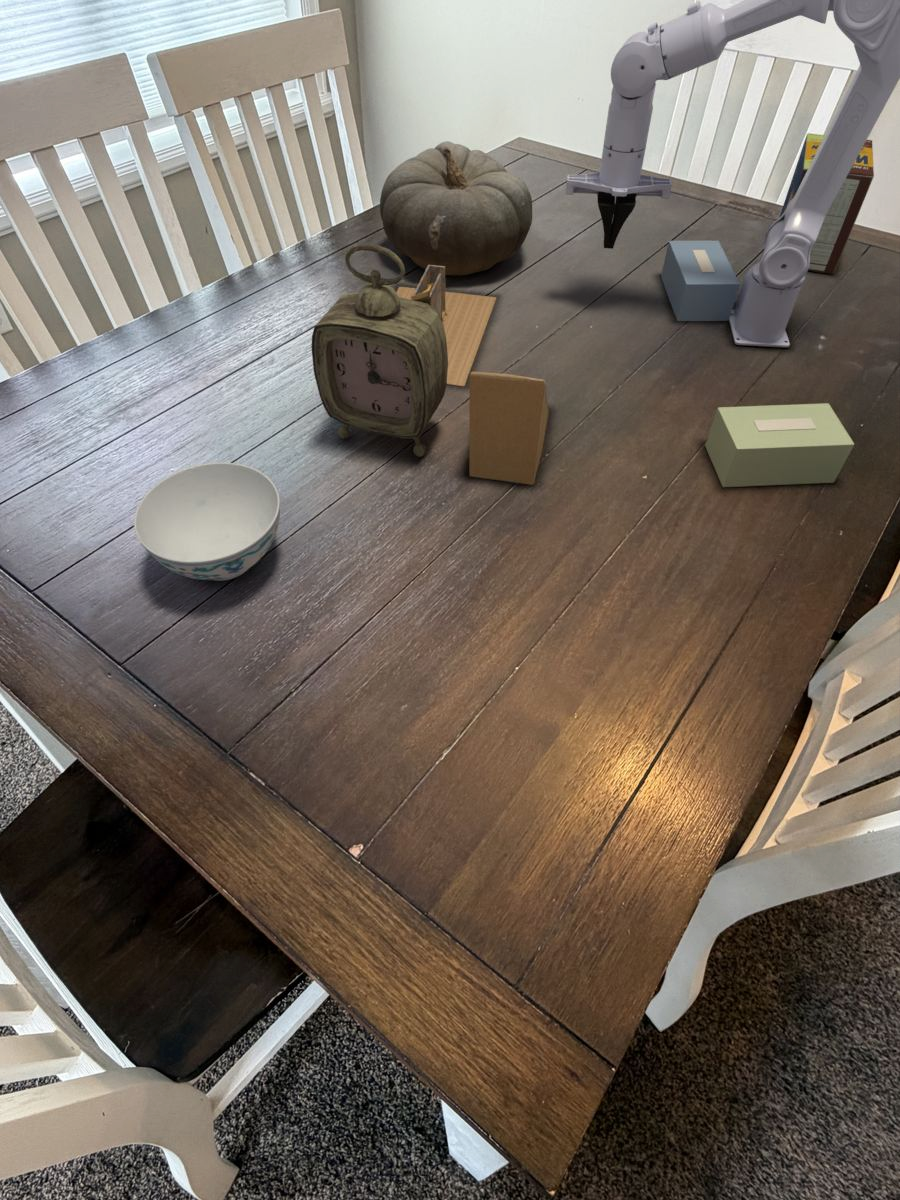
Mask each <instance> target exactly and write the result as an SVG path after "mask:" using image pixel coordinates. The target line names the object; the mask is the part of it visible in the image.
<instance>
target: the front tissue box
mask: <svg viewBox="0 0 900 1200" xmlns="http://www.w3.org/2000/svg"><path fill="white" fill-rule="evenodd" d="M854 446H855V443H854V440H853V439H852V437H851V436H850V435H849V433H848V431H847V430H846V428H845V427H844V425H843V424H842V422H841V420H840V418H839V417H838V416H837V414H836V413H835V411H834V409H833V408H832V406H831V405H830V403H829V402H825V403H823V402H822V403H802V404H801V403H797V404H772V405H771V404H770V405H747V406H745V405H744V406H720V407H717V408H716V412H715V415H714V417H713V421H712V424H711V427H710V430H709V433H708V435H707V439H706V441H705V444H704V447H705V449H706V451H707V455H708V456H709V459H710V461H711V463H712V466H713V468H714V470H715V472H716V475H717V478H718V480H719V482H720V484H721V487H722V488H736V487H758V486H759V487H760V486H761V487H762V486H763V487H765V486H785V485H786V486H787V485H788V486H789V485H809V484H811V485H812V484H832V483H835V482H836V480H837V478H838V476H839V474H840V472H841V471H842V470H843V467H844V465H845V463H846V461H847V459H848V457H849V456H850V454H851V452H852V450H853V448H854Z"/></svg>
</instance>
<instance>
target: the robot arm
mask: <svg viewBox="0 0 900 1200" xmlns="http://www.w3.org/2000/svg"><path fill="white" fill-rule="evenodd" d="M686 11H687V12H686V13H684V14H682V15H680V16H678V17H676V18H673V19H670V20H669V21H666V22H664V23H662V24H660V25H658V22H657V21H656V22H654V23H652V24H649V26H648V27H647V31H639V32H636V33H634V34H632V35H631V36H629V37H628V38H627V39H626V41H625V42H624V43H623V44H622V46H621V48H619V50H618V52H617V53H616V55H615V56H614V58H613V60H612V64H611V68H610V79H611V80H610V81H611V84H612V89H611V93H610V94H611V96H610V97H611V98H610V103H609V105H608V111H607V118H606V124H605V131H604V137H603V138H604V139H603V146H602V153H601V159H600V167H599V172H590V173H581V174H567V176H566V183H565V195H567V196H572V195H574V194H592V195H596V196H597V207H598V210H599V213H600V217H601V222H602V227H603V249H611V250H613V249H614V247H615V244H616V241H617V238H618V236H619V234H620V231H621V230H622V228H623V226H624V224H625V222H626V221H627V219H628V218H629V216H630V215H631V214H632V212H633V211H634V210H635V207H636V204H637V197H639V196H640V197H659V198H660V199H662V200H663V199H664V200H669V199H670V195H671V191H672V186H673V183H672V179H671V178H663V177H656V176H650V175H646V174H642V172H643V165H644V159H645V155H646V149H647V142H648V139H649V131H650V127H651V122H652V115H653V110H654V105H653V101H654V97H655V92H656V86H657V81H668V80H671V79H673V78H676V77H678V76H680V75H683V74H685V73H688V72H690V71H693V70H695V69H697V68H700V67H704V66H706V65H707V64H710V63H712V62H714V61H717V60H718V59H720V57H721V55H722V53H723V52H724V50H725V48H726V46H727V45H728V43H729V42H731V41H734V40H737V39H740V38H743V37H745V36H748V35H751V34H753V33H756V32H758V31H761V30H763V29H766V28H769V27H772V26H774V25H777V24H780V23H783V22H786V21H788V20H791V19H793V18H795V17H801V16H802V17H804V18H807V19H809V20H812V21H814V22H818V23H820V24H823V25H825V24H826V23H827V17H828V14H829V12H832V13H833V14H832V15H833V19H834V22H835V25H836V26H837V28H838V29H839V30H840V31H841V32H842V33H843V34H844V35H845V37H846V38H848V39H849V41H850V42H851V43H852V44H853V47H854V50H855V53H856V56H857V60H858V62H859V66H858V68H857V70H856V72H855V74H854V75H853V78H852V80H851V82H850V83H849V86H848V88H847V89H846V91H845V94H844V96H843V98H842V100H841V102H840V104H839V106H838V108H837V110H836V112H835V114H834V116H833V118H832V119H831V122H830V124H829V126H828V128H827V130H826V132H825V134H824V135H825V136H824V138H823V140H822V142H821V144H820V146H819V148H818V150H817V152H816V154H815V156H814V158H813V160H812V162H811V164H810V166H809V168H808V170H807V172H806V174H805V176H804V178H803V180H802V182H801V184H800V186H799V188H798V190H797V192H796V194H795V196H794V198H793V199H792V200H791V201H790V203H789V204H788V206H787V208H786V210H785V212H784V213H783V215H782V216H781V217H780V216H779V217H780V218H777V219H776V220H775V221H774V222H773V223H772V224H771V225H770V226H769V228H768V229H767V231H766V233H765V237H764V247H763V251H762V252H763V253H762V256H761V258H760V260H759V261H757V262H756V263H755V264H754V265H752V266H751V267H750V268H749V269H748V271H746V274H745V276H744V279H743V282H742V285H741V288H740V291H739V294H738V298H737V301H736V304H735V307H734V309H732V311H731V314H730V317H729V320H728V322H729V326H730V330H731V335H732V339H733V343H734V344H735V345H737V346H749V347H750V346H751V347H767V348H783V349H784V348H785V349H787V348H789V347H790V345H791V343H790V340H789V337H788V334H787V331H786V329H787V327H788V324H789V321H790V318H791V316H792V313H793V311H794V308H795V305H796V304H797V303H796V302H797V301H798V297H799V295H800V292H801V289H802V287H803V285H804V282H805V280H806V275H807V273H808V272H809V271H808V268H809V264H810V252H811V249H812V247H813V245H814V243H815V241H816V239H817V237H818V234H819V231H820V229H821V226H822V223H823V221H824V218H825V216H826V214H827V212H828V210H829V208H830V206H831V204H832V203H833V201H834V199H835V197H836V195H837V193H838V192H839V190H840V188H841V186H842V184H843V182H844V180H845V179H846V177H847V175H848V173H849V171H850V169H851V168H852V166H853V164H854V162H855V160H856V158H857V156H858V155H859V153H860V151H861V149H862V147H863V145H864V144H865V142H866V140H868V138H869V136H870V134H871V132H872V131H873V129H874V127H875V125H876V123H877V121H878V119H879V118H880V116H881V114H882V112H883V111H884V108H885V107H886V105H887V103H888V101H889V100H890V97H891V96H892V94H893V92H894V90H895V89H896V86H897V84H899V83H898V82H899V81H900V0H742V1H740V2H737V3H736V4H733V5H731V6H729V7H728V8H722V7H721V6H720V7H719V6H717V5H716V4H714V3H712V2H708V3H706V4H704V5H702V6H701V1H699V0H698V1H695V2H694V3H691V4H689V6H688V7H687V9H686Z"/></svg>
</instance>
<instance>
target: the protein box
mask: <svg viewBox="0 0 900 1200" xmlns="http://www.w3.org/2000/svg"><path fill="white" fill-rule="evenodd" d="M824 136H825V134H819V133H809V132H807V133H806V136H805V139H804V142H803V145H802V147H801V150H800V154H799V156H798V160H797V162H796V165H795V168H794V172H793V175H792V178H791V181H790V184H789V187H788V189H787V193H786V196H785V199H784V202H783V205H782V208H781V212H780V214H779V218H780V217H781V216H782V215H783V213H784V212H785V210H786V208H787V206H788V204H789V203H790V201H791V200H792V199H793V198H794V196H795V194H796V192H797V190H798V188H799V186H800V184H801V182H802V180H803V178H804V176H805V174H806V172H807V170H808V168H809V166H810V164H811V162H812V160H813V158H814V156H815V154H816V152H817V150H818V148H819V146H820V144H821V142H822V140H823V138H824ZM874 170H875V169H874V149H873V140H872V139H867V140H866V142H865V144H864V145H863V147H862V149H861V151H860V153H859V155H858V156H857V158H856V160H855V162H854V164H853V166H852V168H851V169H850V171H849V173H848V175H847V177H846V179H845V180H844V182H843V184H842V186H841V188H840V190H839V192H838V193H837V195H836V197H835V199H834V201H833V203H832V204H831V206H830V208H829V210H828V212H827V214H826V216H825V218H824V221H823V223H822V226H821V229H820V231H819V234H818V237H817V239H816V241H815V243H814V245H813V247H812V249H811V252H810V264H809V268H808V271H807V272H814V273H821V274H829V275H834V274H835V272H836V271H837V267H838V265H839V262H840V261H841V257H842V256H843V253H844V250H845V248H846V245H847V243H848V241H849V239H850V235H851V234H852V231H853V228H854V226H855V223H856V221H857V219H858V216H859V214H860V211H861V210H862V206H863V204H864V202H865V200H866V196H867V194H868V192H869V189H870V188H871V185H872V182H873V180H874V177H875V171H874ZM779 218H778V219H779Z"/></svg>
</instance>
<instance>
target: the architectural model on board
mask: <svg viewBox="0 0 900 1200" xmlns="http://www.w3.org/2000/svg"><path fill="white" fill-rule="evenodd" d="M424 270H425V271H424V272H423V274H422V276H421V279H420V280H419V281H418V284H417V286H416V288H415V287H407V286H399V287H398V288H397V290H396V293H397V295H398V297H402V298H406V299H410V300H414V301H418V302H422V303H425V304H428V305H430V306H432V307H433V308H435V309H437V310H438V312H439V314H440V317H441V319H442V322H443V326H444V330H445V335H446V342H447V354H448V372H447V385H453V386H459V387H460V386H461V387H465V386H466V383H467V380H468V377H469V376H470V373H471V369H472V367H473V364H474V362H475V358H476V356H477V352H478V350H479V347H480V345H481V341H482V339H483V336H484V334H485V331H486V328H487V325H488V322H489V320H490V317H491V314H492V312H493V309H494V306H495V303H496V300H497V296H489V295H478V294H470V293H468V294H467V293H461V292H453V291H452V292H451V291H446V275H445V266H436V265H428V266H427V268H426V269H424Z"/></svg>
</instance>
